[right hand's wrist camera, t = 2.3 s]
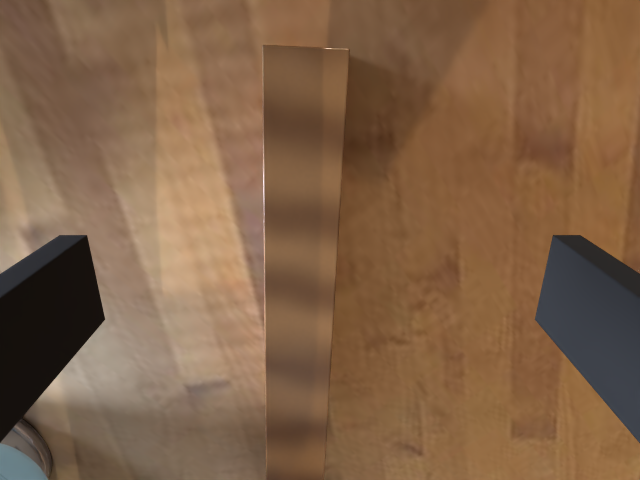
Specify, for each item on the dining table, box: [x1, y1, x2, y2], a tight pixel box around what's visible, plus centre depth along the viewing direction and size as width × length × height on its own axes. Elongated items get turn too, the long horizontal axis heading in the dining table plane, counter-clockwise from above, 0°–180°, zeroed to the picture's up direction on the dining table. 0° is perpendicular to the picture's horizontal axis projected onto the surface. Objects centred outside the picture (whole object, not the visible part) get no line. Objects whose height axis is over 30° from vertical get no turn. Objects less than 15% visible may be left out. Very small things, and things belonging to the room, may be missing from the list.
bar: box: [262, 45, 350, 480], centre depth 43 cm, size 72×5×8 cm, turn 178°
